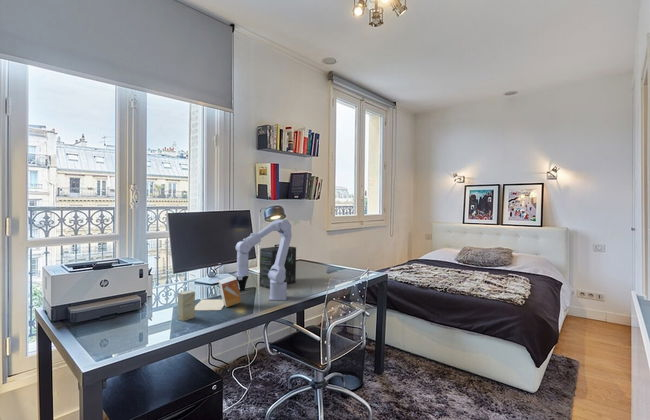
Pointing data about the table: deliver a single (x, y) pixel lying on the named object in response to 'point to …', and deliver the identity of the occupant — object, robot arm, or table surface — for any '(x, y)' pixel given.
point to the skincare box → (186, 305)
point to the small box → (229, 291)
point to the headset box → (269, 260)
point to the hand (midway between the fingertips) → (242, 290)
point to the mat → (209, 305)
